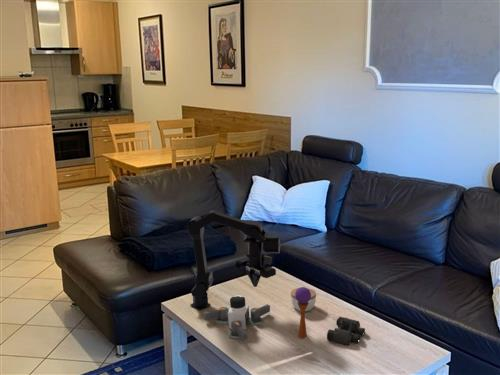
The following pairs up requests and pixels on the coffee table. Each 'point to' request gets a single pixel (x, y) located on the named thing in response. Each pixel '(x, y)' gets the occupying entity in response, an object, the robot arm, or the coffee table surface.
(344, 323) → the binoculars
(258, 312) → the foot screw
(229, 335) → the tribrach plate
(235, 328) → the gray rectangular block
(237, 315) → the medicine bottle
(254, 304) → the coffee table surface
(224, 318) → the foot screw
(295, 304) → the white bowl
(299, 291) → the kendama
